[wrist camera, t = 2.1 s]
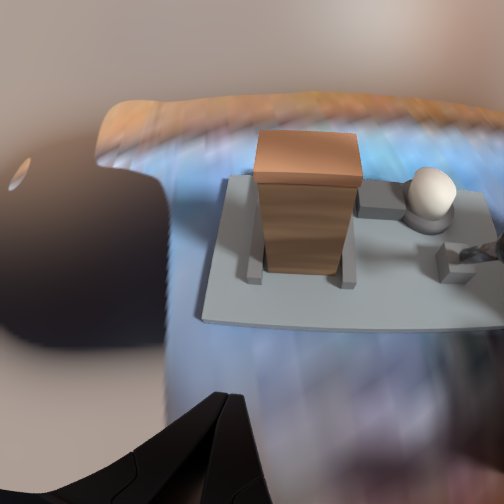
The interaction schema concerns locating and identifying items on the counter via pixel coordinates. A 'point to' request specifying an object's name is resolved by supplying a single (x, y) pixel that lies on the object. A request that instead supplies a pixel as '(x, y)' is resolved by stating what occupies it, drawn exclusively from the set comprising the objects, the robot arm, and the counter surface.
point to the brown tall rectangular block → (306, 197)
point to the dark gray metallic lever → (484, 252)
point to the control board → (365, 265)
